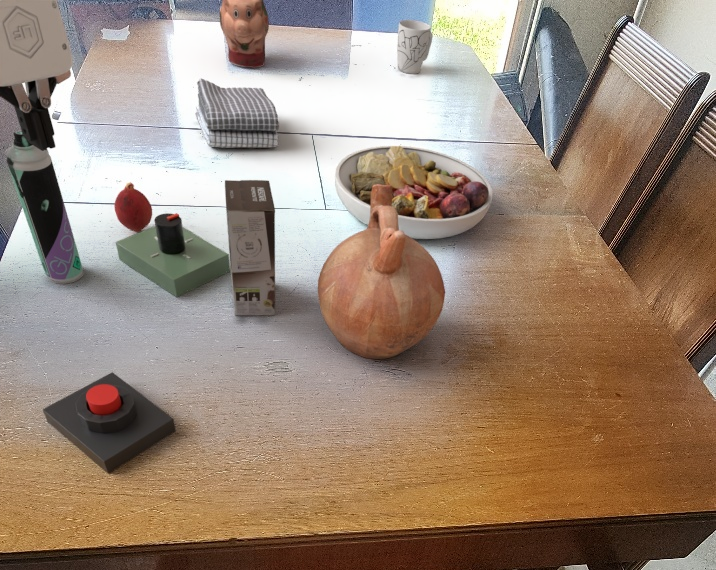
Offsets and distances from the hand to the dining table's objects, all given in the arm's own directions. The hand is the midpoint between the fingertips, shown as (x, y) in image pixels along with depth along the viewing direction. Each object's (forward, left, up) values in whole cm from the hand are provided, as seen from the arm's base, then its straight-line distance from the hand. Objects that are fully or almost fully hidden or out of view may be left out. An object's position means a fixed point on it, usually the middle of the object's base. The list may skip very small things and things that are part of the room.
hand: (41, 144), depth 70 cm
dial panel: (-2, +17, -23) cm, 29 cm away
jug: (+32, +27, -23) cm, 48 cm away
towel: (-33, +60, -23) cm, 73 cm away
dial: (-2, +17, -20) cm, 26 cm away
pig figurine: (-65, +93, -23) cm, 116 cm away
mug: (-36, +128, -23) cm, 135 cm away
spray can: (-11, +3, -23) cm, 26 cm away
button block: (+21, -12, -23) cm, 33 cm away
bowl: (+11, +64, -23) cm, 69 cm away
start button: (+21, -12, -19) cm, 31 cm away
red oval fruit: (-14, +19, -23) cm, 33 cm away
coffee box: (+13, +20, -23) cm, 33 cm away
